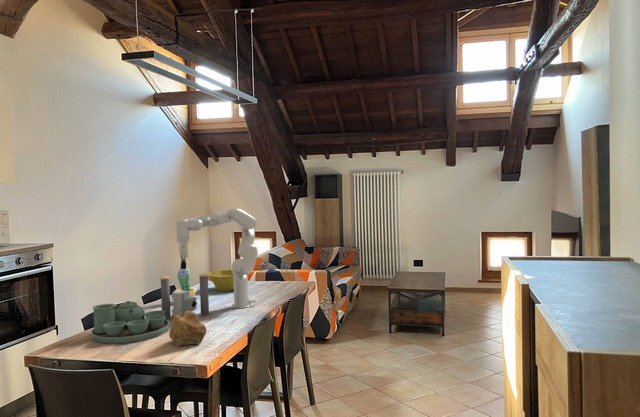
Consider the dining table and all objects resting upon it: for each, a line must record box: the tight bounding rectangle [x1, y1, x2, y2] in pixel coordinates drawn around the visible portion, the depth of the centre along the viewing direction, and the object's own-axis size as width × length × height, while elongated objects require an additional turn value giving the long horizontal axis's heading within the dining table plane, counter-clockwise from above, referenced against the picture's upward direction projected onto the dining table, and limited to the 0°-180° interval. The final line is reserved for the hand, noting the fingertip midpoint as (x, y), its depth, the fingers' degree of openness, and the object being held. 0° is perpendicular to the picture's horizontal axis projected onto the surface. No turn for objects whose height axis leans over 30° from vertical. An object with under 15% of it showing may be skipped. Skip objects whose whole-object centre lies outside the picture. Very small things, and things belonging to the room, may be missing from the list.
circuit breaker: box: [171, 291, 198, 318], centre depth 291 cm, size 8×14×15 cm, turn 78°
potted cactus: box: [173, 265, 197, 297], centre depth 333 cm, size 15×15×25 cm
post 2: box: [198, 273, 210, 316], centre depth 294 cm, size 5×5×25 cm
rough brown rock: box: [169, 311, 207, 347], centre depth 237 cm, size 23×17×15 cm
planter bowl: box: [206, 269, 234, 292], centre depth 374 cm, size 32×32×13 cm
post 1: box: [160, 276, 172, 320], centre depth 288 cm, size 5×5×25 cm
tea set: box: [91, 300, 171, 344], centre depth 258 cm, size 40×40×16 cm
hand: (183, 269), depth 290 cm, fingers closed
